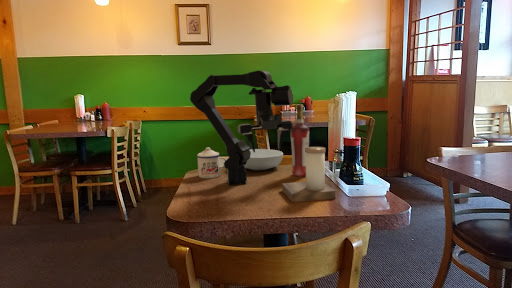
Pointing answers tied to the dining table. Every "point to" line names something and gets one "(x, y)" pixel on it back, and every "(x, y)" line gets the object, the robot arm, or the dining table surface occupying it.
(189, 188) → the dining table surface
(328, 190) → the beige rectangular box
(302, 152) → the liquor
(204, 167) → the teacup with lid
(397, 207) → the dining table surface
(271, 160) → the serving bowl
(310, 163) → the cream jar
